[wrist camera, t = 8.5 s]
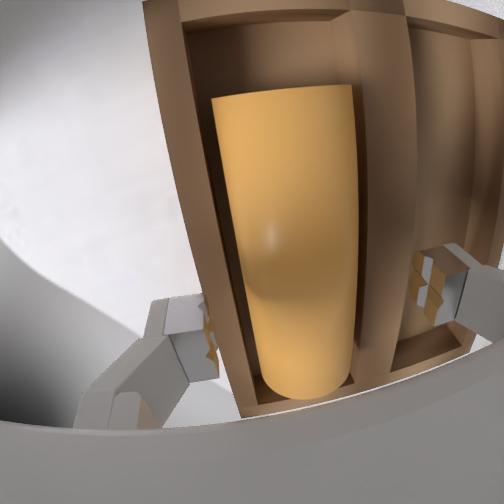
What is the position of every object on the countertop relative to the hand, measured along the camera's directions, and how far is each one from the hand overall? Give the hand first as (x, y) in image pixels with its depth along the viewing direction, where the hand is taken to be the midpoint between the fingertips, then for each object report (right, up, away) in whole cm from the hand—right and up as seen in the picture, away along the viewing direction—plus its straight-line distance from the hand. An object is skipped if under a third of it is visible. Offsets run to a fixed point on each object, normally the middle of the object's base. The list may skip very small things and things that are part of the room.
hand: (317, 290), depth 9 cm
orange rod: (-1, +2, +4) cm, 4 cm away
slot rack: (+3, +3, +5) cm, 6 cm away
